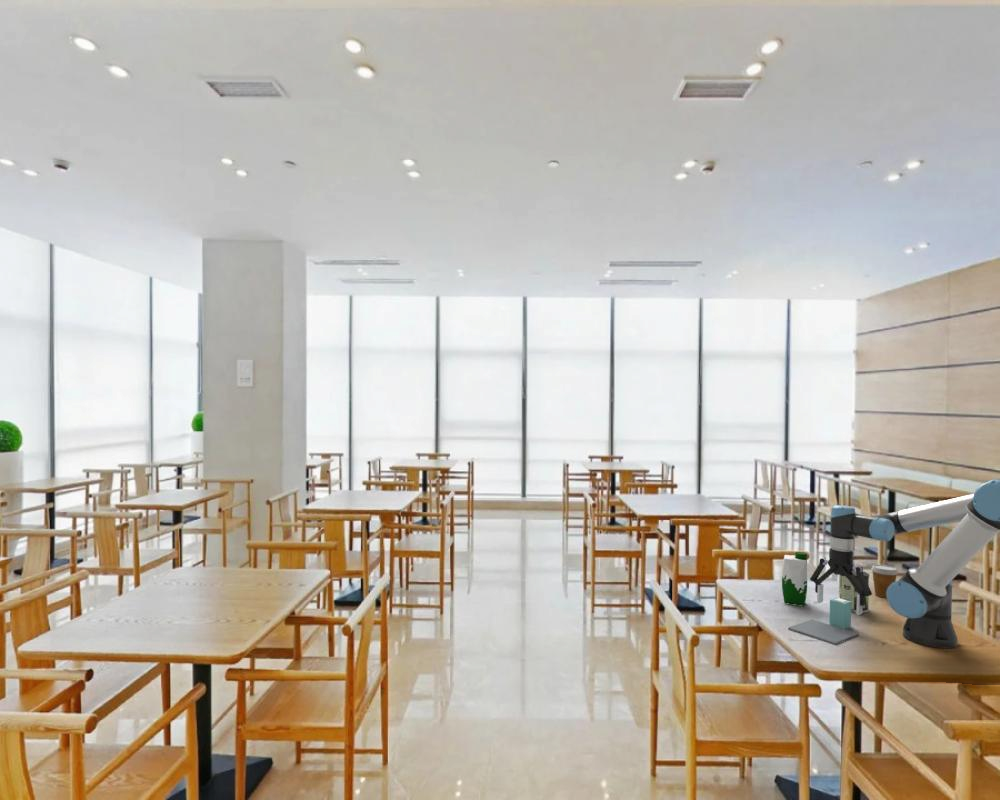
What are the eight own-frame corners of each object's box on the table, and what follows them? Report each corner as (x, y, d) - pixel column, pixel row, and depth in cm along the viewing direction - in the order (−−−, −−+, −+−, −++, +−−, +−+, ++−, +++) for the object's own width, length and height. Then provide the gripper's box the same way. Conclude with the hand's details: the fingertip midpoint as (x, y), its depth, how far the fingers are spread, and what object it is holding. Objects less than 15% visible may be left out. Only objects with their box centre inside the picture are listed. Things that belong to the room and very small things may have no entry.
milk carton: (807, 607, 233) (808, 556, 233) (781, 603, 237) (782, 553, 237) (806, 601, 241) (807, 551, 241) (781, 597, 245) (782, 548, 245)
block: (850, 626, 213) (851, 600, 213) (844, 629, 210) (844, 603, 210) (836, 622, 217) (836, 597, 217) (829, 624, 214) (829, 599, 215)
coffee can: (868, 607, 236) (869, 571, 236) (868, 614, 227) (869, 577, 227) (838, 602, 241) (839, 567, 241) (837, 609, 232) (838, 572, 232)
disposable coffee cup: (903, 598, 248) (903, 569, 248) (884, 599, 246) (884, 570, 246) (883, 591, 257) (884, 563, 257) (865, 592, 255) (865, 564, 255)
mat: (858, 635, 205) (858, 633, 205) (835, 644, 196) (835, 642, 196) (812, 620, 218) (812, 619, 218) (788, 629, 209) (788, 627, 209)
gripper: (884, 556, 206) (881, 617, 206) (812, 540, 227) (809, 596, 227) (874, 558, 202) (871, 621, 202) (801, 542, 222) (799, 599, 222)
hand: (839, 608), depth 214 cm, fingers open, 13 cm apart
